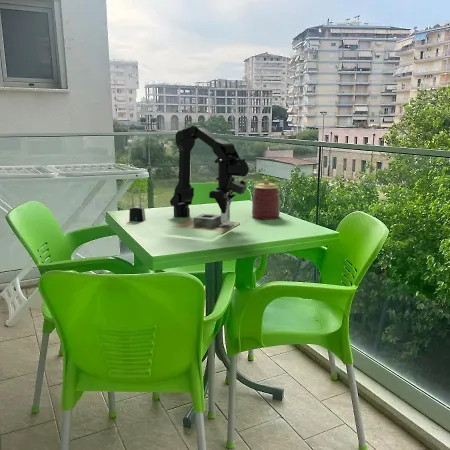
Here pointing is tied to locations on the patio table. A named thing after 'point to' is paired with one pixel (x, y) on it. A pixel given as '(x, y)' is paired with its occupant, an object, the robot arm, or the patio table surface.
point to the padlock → (136, 210)
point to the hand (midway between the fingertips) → (225, 212)
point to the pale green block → (226, 212)
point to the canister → (265, 201)
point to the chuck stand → (208, 223)
